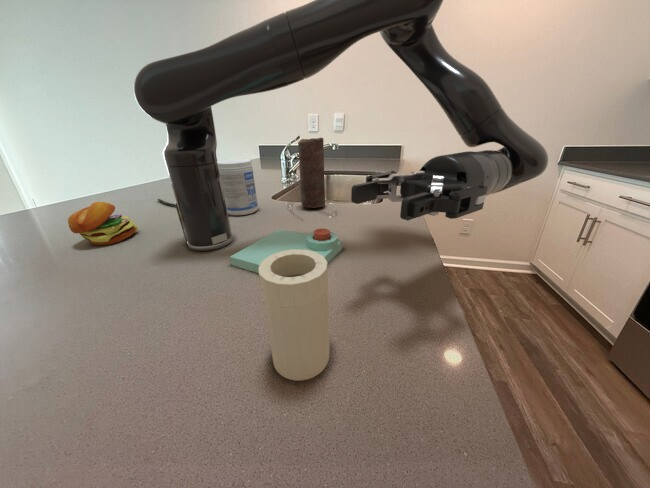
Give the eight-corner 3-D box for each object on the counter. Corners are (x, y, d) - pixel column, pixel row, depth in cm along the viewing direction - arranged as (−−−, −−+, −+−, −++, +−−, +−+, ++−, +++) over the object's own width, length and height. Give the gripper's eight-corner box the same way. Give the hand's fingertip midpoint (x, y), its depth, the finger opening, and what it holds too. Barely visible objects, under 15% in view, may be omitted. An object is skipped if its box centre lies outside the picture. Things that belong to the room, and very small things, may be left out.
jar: (261, 366, 28) (243, 273, 23) (294, 328, 33) (285, 244, 28) (311, 391, 25) (303, 291, 20) (338, 345, 31) (338, 256, 25)
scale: (231, 265, 48) (228, 248, 47) (280, 236, 60) (278, 222, 59) (303, 287, 42) (302, 268, 40) (342, 249, 53) (342, 233, 52)
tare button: (310, 240, 50) (310, 233, 50) (318, 234, 53) (318, 227, 52) (325, 243, 49) (325, 235, 48) (332, 237, 52) (332, 229, 51)
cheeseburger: (146, 235, 62) (119, 199, 56) (96, 261, 56) (61, 223, 51) (134, 225, 68) (109, 191, 62) (88, 247, 63) (56, 212, 57)
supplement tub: (258, 214, 75) (251, 162, 68) (224, 218, 73) (213, 164, 67) (258, 205, 83) (251, 157, 77) (227, 208, 82) (218, 159, 75)
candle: (322, 211, 76) (320, 138, 67) (298, 210, 77) (293, 139, 69) (327, 204, 83) (326, 136, 74) (305, 203, 84) (301, 137, 75)
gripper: (418, 149, 40) (335, 160, 32) (523, 157, 30) (442, 176, 21) (412, 196, 44) (335, 217, 35) (505, 218, 33) (429, 256, 24)
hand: (376, 201), depth 28 cm, fingers open, 7 cm apart
